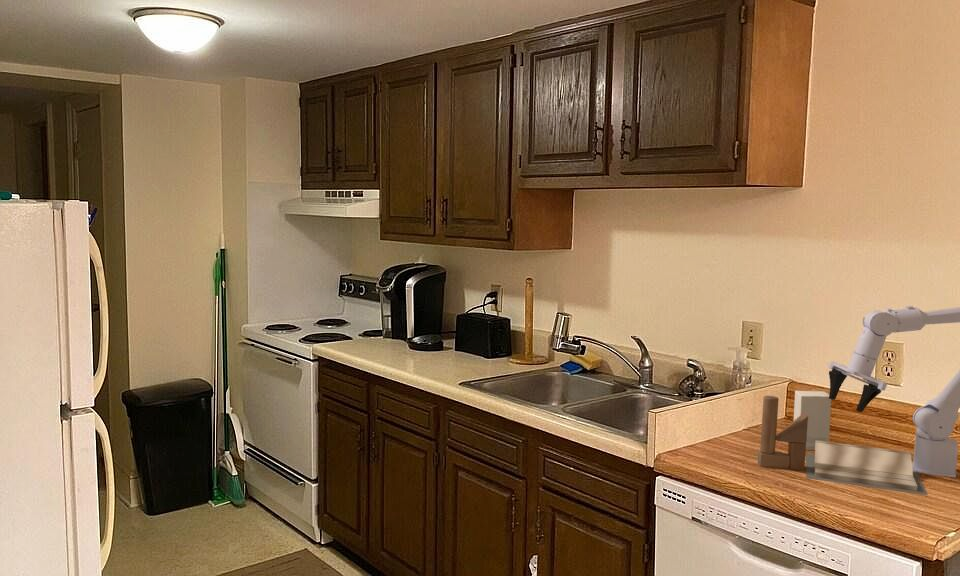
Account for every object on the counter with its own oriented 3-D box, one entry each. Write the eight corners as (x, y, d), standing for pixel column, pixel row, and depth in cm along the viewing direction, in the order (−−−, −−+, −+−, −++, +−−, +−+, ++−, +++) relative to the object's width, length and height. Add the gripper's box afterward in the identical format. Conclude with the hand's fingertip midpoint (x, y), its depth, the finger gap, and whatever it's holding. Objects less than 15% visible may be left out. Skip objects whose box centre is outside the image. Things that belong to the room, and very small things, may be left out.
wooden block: (804, 471, 198) (809, 400, 196) (760, 468, 200) (764, 398, 198) (800, 466, 202) (805, 397, 200) (757, 463, 203) (761, 394, 202)
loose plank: (814, 466, 201) (814, 462, 200) (815, 443, 207) (815, 440, 206) (912, 479, 193) (913, 475, 192) (910, 455, 199) (910, 451, 198)
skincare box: (821, 445, 221) (825, 390, 220) (829, 452, 215) (833, 396, 213) (790, 443, 222) (794, 389, 221) (797, 450, 216) (801, 394, 214)
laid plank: (912, 481, 192) (913, 476, 192) (916, 491, 185) (917, 485, 185) (814, 467, 200) (814, 462, 200) (815, 476, 193) (815, 471, 193)
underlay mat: (915, 468, 203) (915, 467, 203) (927, 496, 182) (927, 495, 182) (805, 454, 212) (805, 453, 212) (806, 479, 192) (806, 477, 192)
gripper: (831, 344, 204) (812, 392, 206) (885, 365, 193) (864, 416, 195) (844, 347, 209) (825, 394, 210) (898, 368, 198) (877, 417, 199)
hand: (845, 405), depth 203 cm, fingers open, 7 cm apart
